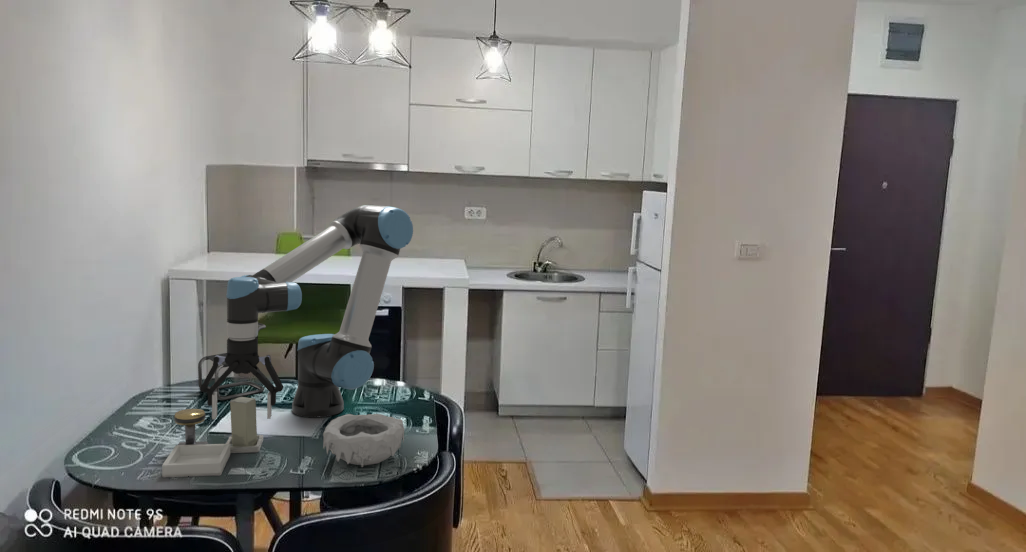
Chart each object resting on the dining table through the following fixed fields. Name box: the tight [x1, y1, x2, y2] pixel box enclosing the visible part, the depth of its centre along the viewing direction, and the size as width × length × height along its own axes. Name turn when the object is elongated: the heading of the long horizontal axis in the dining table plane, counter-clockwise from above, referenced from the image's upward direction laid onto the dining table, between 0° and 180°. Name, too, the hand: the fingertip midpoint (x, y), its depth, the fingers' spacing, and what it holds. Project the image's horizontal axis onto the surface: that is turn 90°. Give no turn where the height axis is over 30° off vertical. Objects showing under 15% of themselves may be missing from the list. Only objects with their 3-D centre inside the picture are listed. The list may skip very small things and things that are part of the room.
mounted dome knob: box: [173, 408, 209, 445], centre depth 196 cm, size 7×7×10 cm
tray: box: [161, 443, 231, 478], centre depth 187 cm, size 13×13×3 cm
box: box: [229, 396, 258, 446], centre depth 199 cm, size 5×4×13 cm
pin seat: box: [225, 434, 264, 454], centre depth 200 cm, size 8×8×2 cm
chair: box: [197, 322, 267, 401], centre depth 244 cm, size 13×17×22 cm
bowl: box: [322, 413, 405, 468], centre depth 194 cm, size 21×20×10 cm
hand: (242, 417), depth 199 cm, fingers open, 13 cm apart
